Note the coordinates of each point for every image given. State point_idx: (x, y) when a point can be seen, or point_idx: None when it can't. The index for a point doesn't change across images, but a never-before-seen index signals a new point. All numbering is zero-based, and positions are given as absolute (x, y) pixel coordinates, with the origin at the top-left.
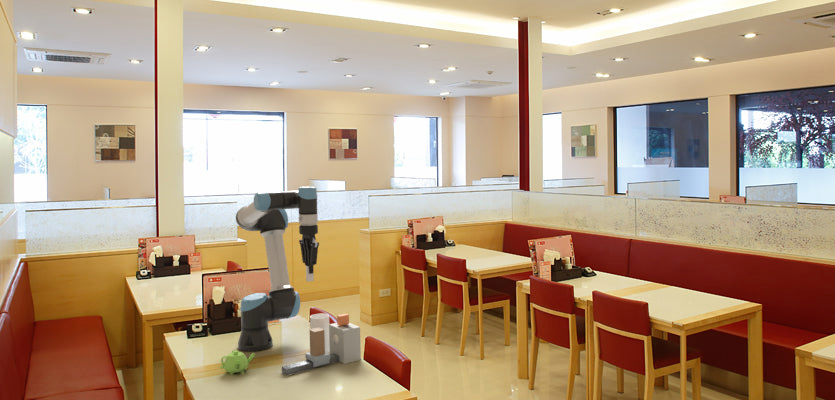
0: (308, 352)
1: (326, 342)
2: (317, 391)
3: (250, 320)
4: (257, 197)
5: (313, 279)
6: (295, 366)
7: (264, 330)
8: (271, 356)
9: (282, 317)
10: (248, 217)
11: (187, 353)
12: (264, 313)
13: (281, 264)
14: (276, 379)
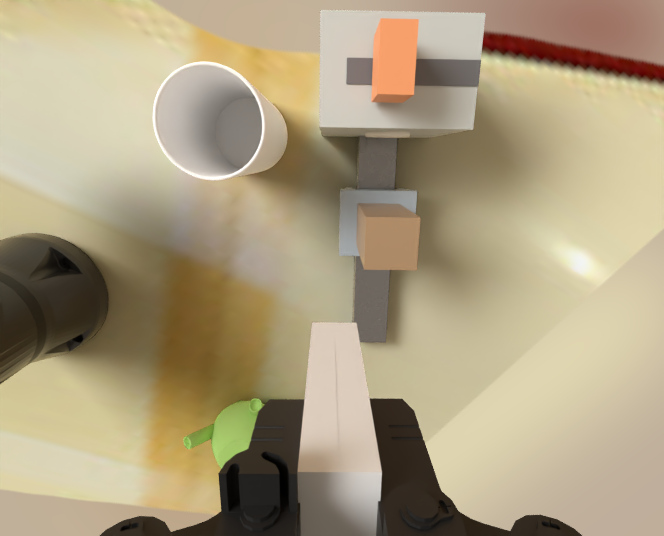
0: (342, 244)
1: (281, 124)
2: (551, 321)
3: (2, 379)
4: None
5: (356, 332)
6: (383, 310)
7: (41, 298)
8: (188, 295)
9: None
10: None
11: (6, 470)
12: None
13: None
14: (388, 365)
